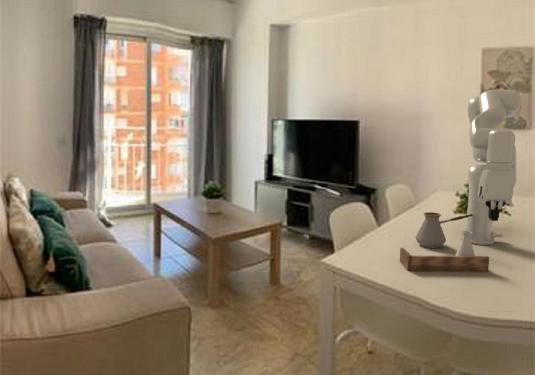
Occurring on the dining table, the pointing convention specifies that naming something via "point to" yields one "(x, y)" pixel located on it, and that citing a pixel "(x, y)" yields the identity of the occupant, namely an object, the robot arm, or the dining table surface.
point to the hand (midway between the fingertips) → (493, 220)
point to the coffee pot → (433, 230)
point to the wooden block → (444, 262)
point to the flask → (466, 245)
